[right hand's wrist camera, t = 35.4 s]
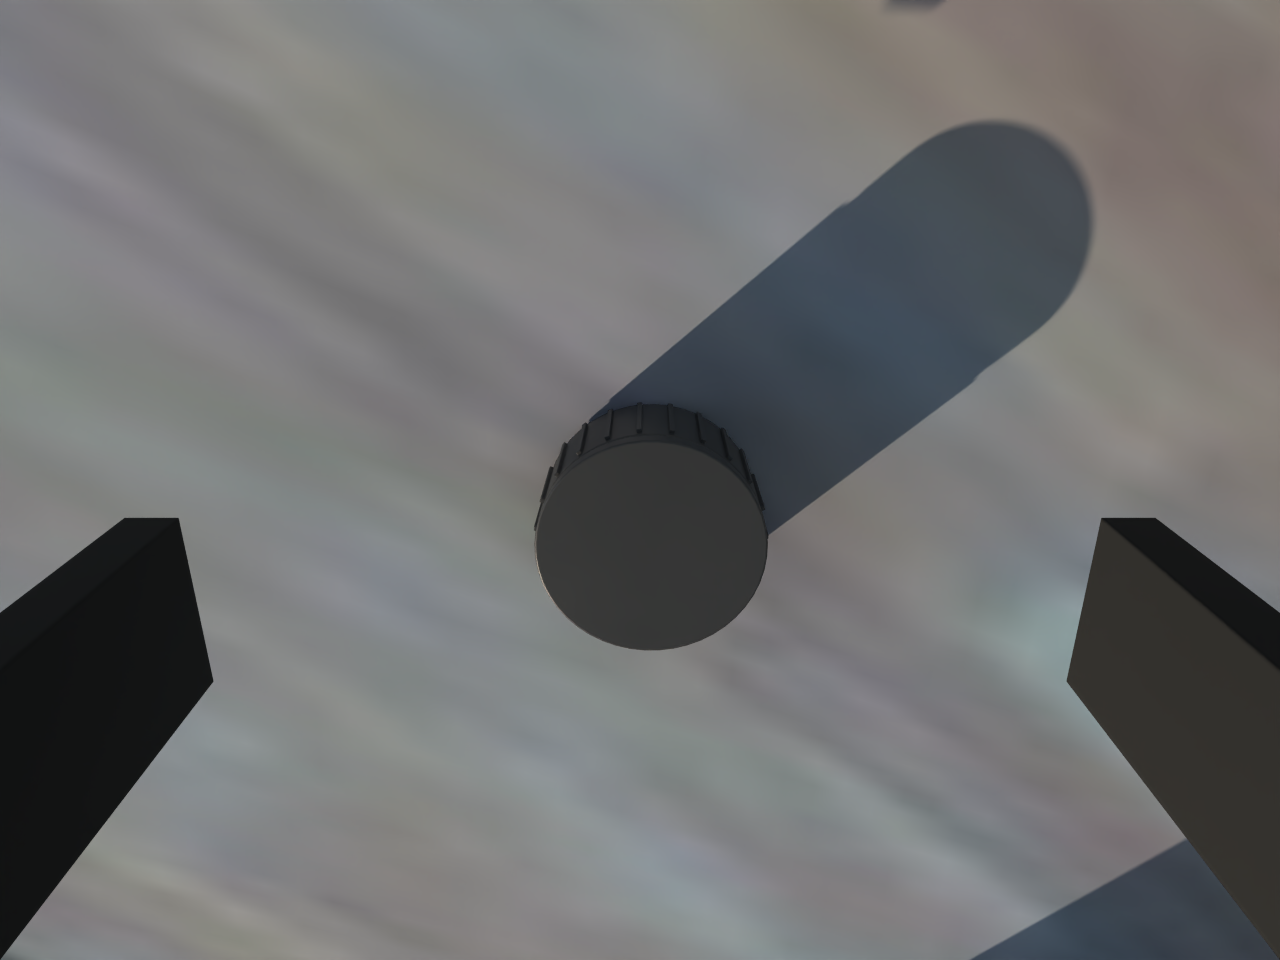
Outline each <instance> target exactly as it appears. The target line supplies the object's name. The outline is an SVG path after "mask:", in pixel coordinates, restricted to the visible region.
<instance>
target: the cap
mask: <svg viewBox="0 0 1280 960" xmlns="http://www.w3.org/2000/svg"><path fill="white" fill-rule="evenodd" d="M540 502H541V505H540V508H539V512H538V515H537V519H536V522H535V526H534V531H536V533H535V558H536V563H537V568H538V572H539V575H540V577H541V580H542V583H543V585H544V587H545V589H546V591H547V593H548V595H549V596H550V598H551V599H552V601H553V602H554V604H555V605H556V606H557V608H558V609H559V610H560V611H561V612H562V613H563V614H564V615H565V616H566V617H567V618H568V619H569V620H570V621H571V622H572V623H574V624H575V625H576V626H577V627H579V628H580V629H582V630H583V631H585V632H586V633H588V634H590V635H592V636H594V637H596V638H598V639H600V640H602V641H604V642H607V643H610V644H613V645H616V646H620V647H625V648H629V649H637V650H665V649H673V648H678V647H682V646H686V645H689V644H692V643H695V642H698V641H700V640H703V639H705V638H707V637H709V636H711V635H713V634H714V633H716V632H717V631H719V630H720V629H722V628H723V627H725V626H726V625H727V624H729V623H730V622H731V621H732V620H733V619H734V618H736V617H737V616H738V614H739V613H740V612H741V611H742V610H743V609H744V608H745V607H746V605H747V604H748V602H749V601H750V600H751V598H752V597H753V595H754V593H755V591H756V589H757V588H758V586H759V584H760V581H761V578H762V575H763V573H764V569H765V564H766V559H767V548H768V540H767V539H768V532H767V529H766V525H765V521H764V517H763V513H762V511H763V510H765V508H764V504H763V501H762V498H761V495H760V491H759V488H758V485H757V482H756V479H755V475H754V474H750V470H749V467H748V464H747V461H746V457H745V454H744V451H743V450H742V449H740V450H739V449H738V448H737V446H736V445H735V444H734V443H733V441H732V440H731V439H730V438H729V437H728V436H727V434H726V430H725V429H724V428H721V429H720V428H718V427H717V426H716V425H714V424H713V423H711V422H710V421H708V420H706V419H705V418H703V417H702V416H701V413H699V412H697V413H696V414H695V413H692V412H690V411H687V410H684V409H680V408H676V407H673V405H672V404H668V406H665V405H642V403H637V406H629V407H625V408H622V409H618V410H615V411H613V409H611V410H608V413H607V414H605V415H602V416H601V417H599V418H597V419H595V420H593V421H592V422H590V423H589V424H587V423H584V424H583V425H582V429H581V430H580V431H579V432H578V433H577V434H576V435H575V436H574V437H573V438H571V439H570V441H569V442H568V443H567V444H566V443H565V442H564V444H563V445H562V448H561V452H560V455H559V457H558V459H557V460H556V462H555V465H554V467H550V468H549V471H548V475H547V478H546V482H545V485H544V488H543V492H542V495H541V499H540Z"/></svg>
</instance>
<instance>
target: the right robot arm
mask: <svg viewBox="0 0 1280 960" xmlns="http://www.w3.org/2000/svg"><path fill="white" fill-rule="evenodd" d="M212 683H213V677H212V672H211V668H210V663H209V658H208V654H207V649H206V644H205V640H204V635H203V630H202V626H201V621H200V616H199V611H198V607H197V602H196V597H195V593H194V588H193V583H192V579H191V574H190V569H189V565H188V560H187V555H186V551H185V546H184V541H183V537H182V532H181V527H180V523H179V518H124V519H123V520H121V521H120V522H119V523H117V524H116V525H115V526H113V527H112V528H111V529H109V530H108V531H107V532H106V533H104V534H103V535H102V536H100V537H99V538H98V539H96V540H95V541H94V542H92V543H91V544H90V545H89V546H87V547H86V548H85V549H83V550H82V551H81V552H79V553H78V554H77V555H75V556H74V557H73V558H71V559H70V560H69V561H68V562H66V563H65V564H64V565H62V566H61V567H60V568H58V569H57V570H56V571H54V572H53V573H52V574H51V575H49V576H48V577H47V578H45V579H44V580H43V581H41V582H40V583H39V584H37V585H36V586H35V587H33V588H32V589H31V590H30V591H28V592H27V593H26V594H24V595H23V596H22V597H20V598H19V599H18V600H16V601H15V602H14V603H13V604H11V605H10V606H9V607H7V608H6V609H5V610H3V611H2V612H1V613H0V959H1V958H2V957H3V955H4V954H5V953H6V951H7V950H8V949H9V947H10V946H11V945H12V944H13V942H14V941H15V940H16V938H17V937H18V936H19V934H20V933H21V932H22V931H23V929H24V928H25V927H26V925H27V924H28V923H29V921H30V920H31V919H32V917H33V916H34V915H35V914H36V912H37V911H38V910H39V908H40V907H41V906H42V904H43V903H44V902H45V900H46V899H47V898H48V897H49V895H50V894H51V893H52V891H53V890H54V889H55V887H56V886H57V885H58V884H59V882H60V881H61V880H62V878H63V877H64V876H65V874H66V873H67V872H68V870H69V869H70V868H71V867H72V865H73V864H74V863H75V861H76V860H77V859H78V857H79V856H80V855H81V854H82V852H83V851H84V850H85V848H86V847H87V846H88V844H89V843H90V842H91V840H92V839H93V838H94V837H95V835H96V834H97V833H98V831H99V830H100V829H101V827H102V826H103V825H104V824H105V822H106V821H107V820H108V818H109V817H110V816H111V814H112V813H113V812H114V810H115V809H116V808H117V807H118V805H119V804H120V803H121V801H122V800H123V799H124V797H125V796H126V795H127V793H128V792H129V791H130V790H131V788H132V787H133V786H134V784H135V783H136V782H137V780H138V779H139V778H140V777H141V775H142V774H143V773H144V771H145V770H146V769H147V767H148V766H149V765H150V763H151V762H152V761H153V760H154V758H155V757H156V756H157V754H158V753H159V752H160V750H161V749H162V748H163V747H164V745H165V744H166V743H167V741H168V740H169V739H170V737H171V736H172V735H173V733H174V732H175V731H176V730H177V728H178V727H179V726H180V724H181V723H182V722H183V720H184V719H185V718H186V717H187V715H188V714H189V713H190V711H191V710H192V709H193V707H194V706H195V705H196V703H197V702H198V701H199V700H200V698H201V697H202V696H203V694H204V693H205V692H206V690H207V689H208V688H209V686H210V685H211V684H212ZM1067 683H1068V684H1069V685H1070V686H1071V688H1072V689H1073V690H1074V692H1075V693H1076V694H1077V696H1078V697H1079V698H1080V700H1081V701H1082V702H1083V703H1084V705H1085V706H1086V707H1087V709H1088V710H1089V711H1090V713H1091V714H1092V715H1093V717H1094V718H1095V719H1096V720H1097V722H1098V723H1099V724H1100V726H1101V727H1102V728H1103V730H1104V731H1105V732H1106V733H1107V735H1108V736H1109V737H1110V739H1111V740H1112V741H1113V743H1114V744H1115V745H1116V747H1117V748H1118V749H1119V750H1120V752H1121V753H1122V754H1123V756H1124V757H1125V758H1126V760H1127V761H1128V762H1129V763H1130V765H1131V766H1132V767H1133V769H1134V770H1135V771H1136V773H1137V774H1138V775H1139V777H1140V778H1141V779H1142V780H1143V782H1144V783H1145V784H1146V786H1147V787H1148V788H1149V790H1150V791H1151V792H1152V793H1153V795H1154V796H1155V797H1156V799H1157V800H1158V801H1159V803H1160V804H1161V805H1162V807H1163V808H1164V809H1165V810H1166V812H1167V813H1168V814H1169V816H1170V817H1171V818H1172V820H1173V821H1174V822H1175V824H1176V825H1177V826H1178V827H1179V829H1180V830H1181V831H1182V833H1183V834H1184V835H1185V837H1186V838H1187V839H1188V840H1189V842H1190V843H1191V844H1192V846H1193V847H1194V848H1195V850H1196V851H1197V852H1198V854H1199V855H1200V856H1201V857H1202V859H1203V860H1204V861H1205V863H1206V864H1207V865H1208V867H1209V868H1210V869H1211V870H1212V872H1213V873H1214V874H1215V876H1216V877H1217V878H1218V880H1219V881H1220V882H1221V884H1222V885H1223V886H1224V887H1225V889H1226V890H1227V891H1228V893H1229V894H1230V895H1231V897H1232V898H1233V899H1234V900H1235V902H1236V903H1237V904H1238V906H1239V907H1240V908H1241V910H1242V911H1243V912H1244V914H1245V915H1246V916H1247V917H1248V919H1249V920H1250V921H1251V923H1252V924H1253V925H1254V927H1255V928H1256V929H1257V931H1258V932H1259V933H1260V934H1261V936H1262V937H1263V938H1264V940H1265V941H1266V942H1267V944H1268V945H1269V946H1270V947H1271V949H1272V950H1273V951H1274V953H1275V954H1276V955H1277V957H1278V958H1279V959H1280V613H1279V612H1278V611H1277V610H1275V609H1274V608H1273V607H1271V606H1270V605H1269V604H1267V603H1266V602H1265V601H1264V600H1262V599H1261V598H1260V597H1258V596H1257V595H1256V594H1254V593H1253V592H1252V591H1250V590H1249V589H1248V588H1247V587H1245V586H1244V585H1243V584H1241V583H1240V582H1239V581H1237V580H1236V579H1235V578H1233V577H1232V576H1231V575H1229V574H1228V573H1227V572H1226V571H1224V570H1223V569H1222V568H1220V567H1219V566H1218V565H1216V564H1215V563H1214V562H1212V561H1211V560H1210V559H1209V558H1207V557H1206V556H1205V555H1203V554H1202V553H1201V552H1199V551H1198V550H1197V549H1195V548H1194V547H1193V546H1191V545H1190V544H1189V543H1188V542H1186V541H1185V540H1184V539H1182V538H1181V537H1180V536H1178V535H1177V534H1176V533H1174V532H1173V531H1172V530H1171V529H1169V528H1168V527H1167V526H1165V525H1164V524H1163V523H1161V522H1160V521H1159V520H1157V519H1156V518H1101V523H1100V527H1099V532H1098V537H1097V541H1096V546H1095V551H1094V555H1093V560H1092V565H1091V569H1090V574H1089V579H1088V583H1087V588H1086V593H1085V597H1084V602H1083V607H1082V611H1081V616H1080V621H1079V626H1078V630H1077V635H1076V640H1075V644H1074V649H1073V654H1072V658H1071V663H1070V668H1069V672H1068V677H1067Z"/></svg>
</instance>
